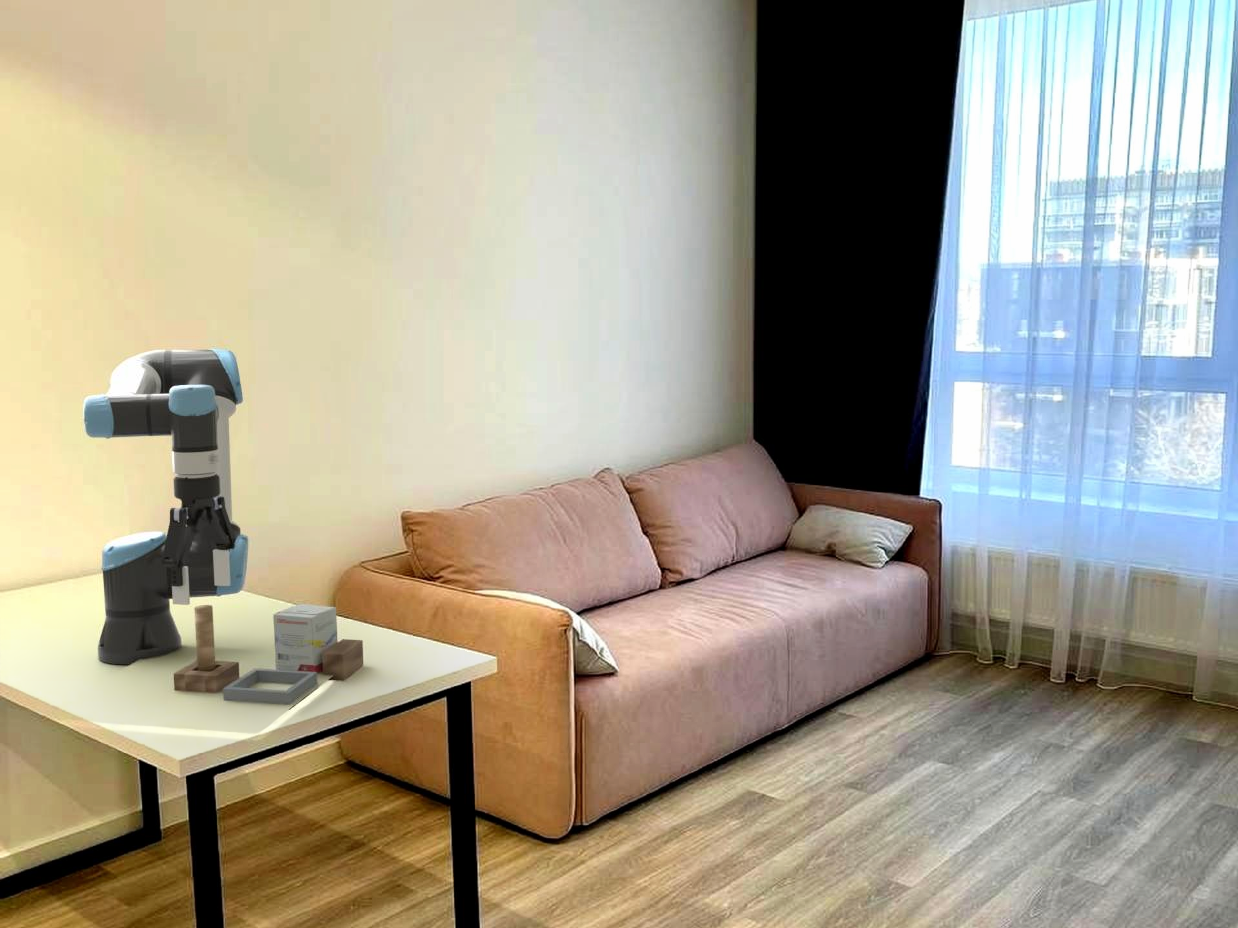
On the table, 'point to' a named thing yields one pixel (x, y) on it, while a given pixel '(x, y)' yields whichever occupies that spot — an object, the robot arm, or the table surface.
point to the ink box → (304, 637)
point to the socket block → (206, 677)
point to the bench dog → (343, 659)
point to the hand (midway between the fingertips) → (202, 594)
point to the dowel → (205, 638)
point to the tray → (243, 693)
